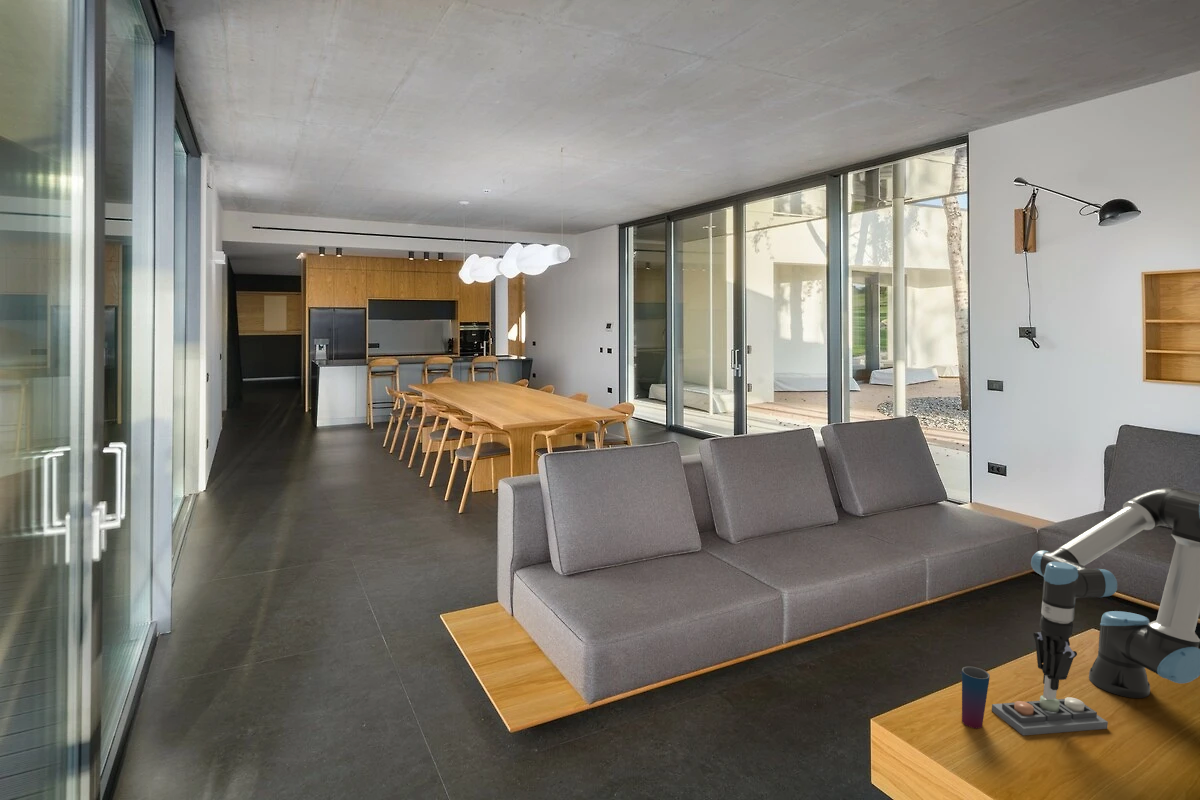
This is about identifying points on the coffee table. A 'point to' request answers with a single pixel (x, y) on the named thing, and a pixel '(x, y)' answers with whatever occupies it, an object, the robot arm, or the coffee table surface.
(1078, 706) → the button cream
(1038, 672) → the coffee table surface
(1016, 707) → the button rust
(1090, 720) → the panel
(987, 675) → the cup
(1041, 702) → the button sage
